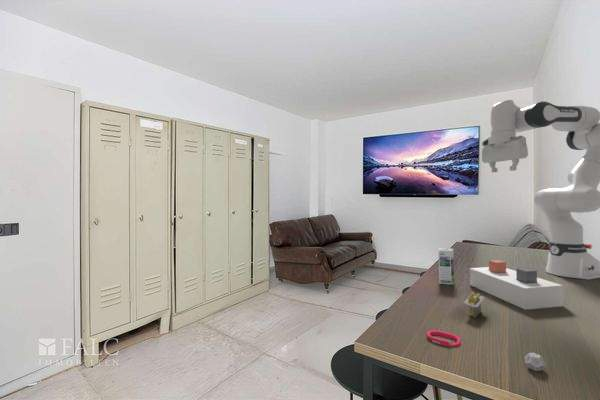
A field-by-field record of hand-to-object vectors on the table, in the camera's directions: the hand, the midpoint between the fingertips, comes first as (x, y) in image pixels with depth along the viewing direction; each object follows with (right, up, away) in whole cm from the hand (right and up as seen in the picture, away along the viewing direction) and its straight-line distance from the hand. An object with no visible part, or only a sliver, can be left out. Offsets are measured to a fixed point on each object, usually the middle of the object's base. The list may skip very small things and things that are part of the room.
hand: (503, 171), depth 127 cm
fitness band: (-50, -50, -48) cm, 86 cm away
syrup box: (-25, -48, -1) cm, 54 cm away
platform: (-32, -49, -33) cm, 68 cm away
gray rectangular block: (-9, -42, -24) cm, 49 cm away
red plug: (-10, -42, -11) cm, 45 cm away
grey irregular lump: (-36, -50, -62) cm, 87 cm away
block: (-9, -48, -17) cm, 51 cm away
